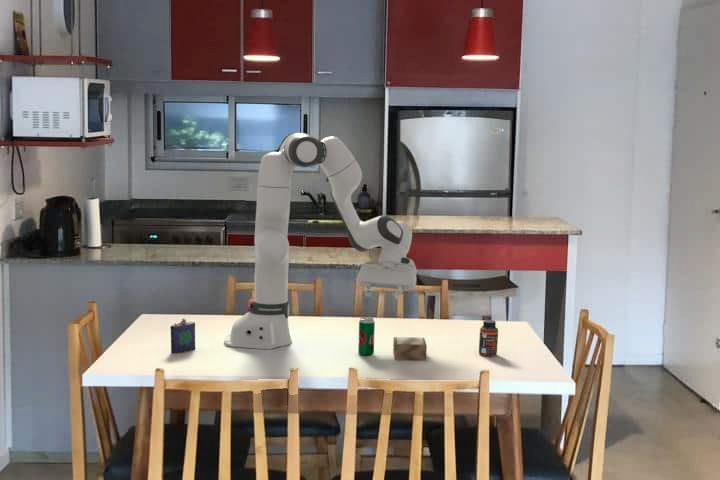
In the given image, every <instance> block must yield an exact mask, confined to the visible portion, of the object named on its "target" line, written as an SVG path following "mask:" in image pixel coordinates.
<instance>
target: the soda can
mask: <svg viewBox="0 0 720 480" xmlns="http://www.w3.org/2000/svg"><path fill="white" fill-rule="evenodd" d="M375 324H376V322H375V319H374V318H373V317H371V316H365V317H364V316H363V317H360V319H359V321H358V344H357V345H358V349H357V351H358V352H357V353H358V355H360V356H361V357H371V356H373V355H374V353H375V329H376V328H375V326H376V325H375Z"/></svg>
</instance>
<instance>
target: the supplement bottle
mask: <svg viewBox="0 0 720 480" xmlns="http://www.w3.org/2000/svg"><path fill="white" fill-rule="evenodd" d="M496 325H497V323H496V321H495V320H493V319H484V320H483V321H482V326H481V327H480V328H479V341H478V342H479V343H478V344H479V345H478V354H479V355H480V356H482V357H495V356H497V354H498V344H499V343H498V338H499V329H498V328H497V326H496Z"/></svg>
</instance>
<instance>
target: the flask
mask: <svg viewBox="0 0 720 480" xmlns="http://www.w3.org/2000/svg"><path fill="white" fill-rule="evenodd" d="M194 350H196V322H195V321H188V322H187V319H185V318H181V321H180V322H177V323H174V324H172V325H171V326H170V354H173V355H177V354H181V353H186V352H191V351H194Z"/></svg>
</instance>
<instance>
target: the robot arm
mask: <svg viewBox="0 0 720 480" xmlns="http://www.w3.org/2000/svg"><path fill="white" fill-rule="evenodd" d="M316 165H318V166H319V167H320V168H321V169H322V170H323V172H324V174H325V175H326V177H327V179H328V180H329V183H330V186H331V189H330V197H331V199H332V202H333V204H334V207H335V209H336V211H337V213H338V215H339V217H340V220H341V222H342V224H343V227H344V228H345V231H346V233H347V236H348V237H347V238H348V240H349V243H350V244H351V246H352V247H353V248H354V249H355V250H356V251H358V252H362V253H365V252H366V253H367V252H368V251H369V250H372V249H374V248H377V247H380V248H382V251H381V253H380V255H379V259H378V262H375V261H373V262H371V261H366V262H364V263H362V264H361V266H360V269H359V272H358V274H357V276H356V282H357V284H358V285H359V287H364V288H365V293H364V295H365V297H366V298H371V295H372V291H371V290H370V289H371V288H377V289H388V290H389V289H390V290H396V291H395V292H392V293H391V298H392V300H396V301H397V300H398V297H399V296H400V295H401V294H402V293H403V292H404V291H409V292H410V291H413V290H415V288H416V283H417V275H416V274H417V272H418V271H417V267H416V264H415V262H414V260H413V259H411V258H408V257H407V254H408V253H409V252H410V248H411V244H412V241H413V240H412V239H413V230H412V227H411V226H410V225H409V224H408V223H407V222H404V221H402V220H397V221H396V220H394V218H392V217H391V216H389V215H387V214H383V215H380V216H379V215H378V216H376V217H373V218H371V219H368V220H366V221H363V220H361V218H360V217H359V215H358V213H357V211H356V209H355V207H354V204H353V203H352V202H353V201H352V195H353V193H354V192H355V191H356V190H357V188H358V187H359V185H360V184H361V182H362V178H363V171H362V169H361V166H360V165H359V163H358V162H357V160H356V159H355V156H354V155H353V154H352V153H351V150H349V148H348V147H347V146H346V145H345V143H343V141H342V140H340V138H339V137H336V136H333V135H332V136H328V137H324V138H323V139H321V140H320V139H318V138H317V137H314V136H312V135H309V134H308V133H305V132H292V133H289V134H288V135H287V136H285V137H284V139H283V140H282V141H281V143H280V145H279V146H278V148H277V150H276V151H272V152H268V153H266V154H264V155H263V156H262V158H261V160H260V164H259V168H258V175H257V176H258V177H257V185H256V186H257V187H256V189H257V191H256V210H255V224H254V227H255V229H254V249H255V251H254V252H255V254H254V256H255V257H254V258H255V260H254V294H253V295H254V299H249V300H248V302H247V305H248V306H247V309H248V312H246V313H245V314H243V315H242V316H241V317H240V318H238V319H237V320H235V322H234V323H233V325H232V328H231V331H230V334H229V335H226V336H225V338H224V341H223V343H224V345H225V346H226V347H230V348H231V347H233V348H245V349H246V348H248V349H249V348H250V349H261V350H272V349H274V348H278V347H285V346H288V345H290V344H292V343H293V340H292V338H291V334H290V333H291V332H290V328H289V327H290V326H289V316H290V305H289V304H290V302H289V300H288V291H289V290H288V285H289V284H288V281H289V267H290V266H289V264H290V241H289V240H288V234H289V232H288V230H289V222H290V213H291V212H290V211H291V196H292V194H291V193H292V175H293V172H294V171H295V169H296V168H297V167H299V168H304V169H306V168H310V167H313V166H316Z"/></svg>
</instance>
